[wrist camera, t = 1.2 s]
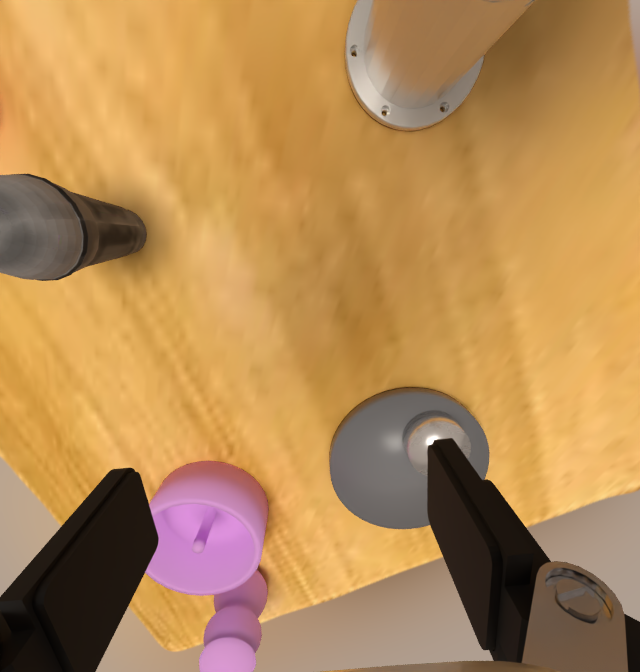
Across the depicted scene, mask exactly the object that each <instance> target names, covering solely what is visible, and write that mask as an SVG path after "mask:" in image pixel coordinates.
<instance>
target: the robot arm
mask: <svg viewBox="0 0 640 672" xmlns="http://www.w3.org/2000/svg"><path fill="white" fill-rule="evenodd" d="M534 1H535V0H358V1H357V2H356V4H355V6H354V9H353V12H352V15H351V18H350V21H349V24H348V29H347V35H346V44H345V64H346V71H347V75H348V80H349V83H350V86H351V88H352V91H353V93H354V95H355V97H356V99H357V100H358V102H359V103H360V105H361V106H362V108H363V109H364V110H365V111H366V112H367V113H368V114H369V115H370V116H371V117H372V118H374V119H375V120H376V121H378V122H379V123H381V124H383V125H385V126H388V127H390V128H393V129H398V130H404V131H410V130H420V129H423V128H427V127H430V126H432V125H434V124H436V123H438V122H440V121H442V120H443V119H445V118H446V117H447V116H448V115H450V114H451V113H452V112H453V111H454V110H455V109H456V108H457V107H458V106H460V105H461V104H462V102H463V101H464V100H465V98H466V97H467V96H468V94H469V93H470V92H471V90H472V88H473V86H474V84H475V82H476V81H477V79H478V76H479V73H480V70H481V68H482V65H483V61H484V56H485V53H486V52H487V51H488V50H489V49H490V48H491V47H492V46H493V45H494V44H495V43H496V41H497V40H498V39H499V38H500V37H501V36H502V35H503V34H504V33H505V32H506V31H507V30H508V29H509V28H510V27H511V26H512V25H513V23H514V22H515V21H516V20H517V19H518V18H519V17H520V16H521V15H522V14H523V13H524V12H525V11H526V10H527V9H528V8H529V7H530V5H531V4H532V3H533V2H534ZM352 53H355V54H356V57H353V56H352V55H351V54H352ZM440 108H442V109H443V112H441V111H440ZM383 111H384V112H386V116H383V115H382V112H383ZM427 513H428V519H429V523H430V525H431V528H432V530H433V533H434V535H435V538H436V540H437V542H438V545H439V547H440V550H441V552H442V555H443V557H444V559H445V562H446V564H447V567H448V569H449V572H450V574H451V576H452V578H453V581H454V584H455V586H456V588H457V591H458V593H459V596H460V598H461V601H462V603H463V605H464V608H465V610H466V613H467V615H468V618H469V620H470V622H471V625H472V627H473V630H474V632H475V635H476V637H477V639H478V642H479V644H480V646H481V647H482V649H483V650H489V651H490V653H491V655H492V657H493V660H494V661H459V662H443V663H426V664H410V665H395V666H383V667H371V668H360V669H359V668H358V669H347V670H334V671H323V672H640V622H639V621H637V620H635V619H633V618H631V617H629V616H627V615H626V614H624V612H623V609H622V605H621V604H620V602H619V600H618V599H617V597H616V595H615V594H614V593H613V591H612V590H610V588H609V587H608V586H607V585H606V584H605V583H604V582H603V581H601V580H600V579H599V578H597V577H596V576H595V575H594V574H592V573H590V572H588V571H587V570H585V569H583V568H581V567H579V566H576V565H573V564H570V563H567V562H558V561H554V562H551V561H550V560H549V558H548V557H547V556H546V554H545V553H544V551H543V550H542V549H541V547H540V546H539V545H538V543H537V542H536V541H535V539H534V538H533V537H532V535H531V534H530V533H529V531H528V530H527V528H526V527H525V526H524V524H523V523H522V522H521V520H520V519H519V518H518V516H517V515H516V514H515V512H514V511H513V509H512V508H511V507H510V505H509V504H508V503H507V501H506V500H505V499H504V497H503V496H502V495H501V493H500V492H499V491H498V489H497V488H496V487H495V485H494V484H493V483H492V482H491V481H490V480H488V479H487V480H482V479H481V478H480V476H479V475H478V473H477V472H476V470H475V469H474V468H473V466H472V465H471V463H470V462H469V461H468V459H467V458H466V456H465V455H464V453H463V452H462V451H461V449H460V448H459V446H458V445H457V443H456V442H455V441H454V440H453V439H452V438H447V439H436V440H434V441H433V445H428V468H427ZM158 541H159V538H158V533H157V530H156V527H155V523H154V520H153V517H152V513H151V510H150V507H149V503H148V500H147V497H146V493H145V490H144V487H143V483H142V480H141V477H140V474H139V473H138V472H135V470H134V469H133V468H123V469H113V470H111V471H110V472H109V473H108V474H107V475H106V476H105V477H104V478H103V480H102V481H101V482H100V483H99V484H98V485H97V486H96V488H95V489H94V490H93V491H92V492H91V493H90V494H89V496H88V497H87V498H86V499H85V500H84V501H83V503H82V504H81V505H80V506H79V507H78V508H77V509H76V511H75V512H74V513H73V514H72V515H71V516H70V517H69V519H68V520H67V521H66V522H65V523H64V524H63V525H62V527H61V528H60V529H59V530H58V531H57V532H56V534H55V535H54V536H53V537H52V538H51V539H50V540H49V542H48V543H47V544H46V545H45V546H44V547H43V549H42V550H41V551H40V552H39V553H38V554H37V555H36V557H35V558H34V559H33V560H32V561H31V562H30V563H29V565H28V566H27V567H26V568H25V569H24V570H23V571H22V573H21V574H20V575H19V576H18V577H17V578H16V580H15V581H14V582H13V583H12V584H11V585H10V586H9V588H8V589H7V590H6V591H5V592H4V593H3V594H2V596H1V597H0V672H95V671H96V669H97V667H98V665H99V663H100V661H101V659H102V657H103V655H104V653H105V651H106V649H107V647H108V645H109V643H110V641H111V639H112V637H113V635H114V633H115V631H116V629H117V627H118V625H119V623H120V621H121V619H122V617H123V615H124V613H125V611H126V609H127V607H128V605H129V603H130V601H131V599H132V597H133V595H134V593H135V591H136V589H137V587H138V585H139V583H140V581H141V579H142V577H143V575H144V573H145V571H146V569H147V567H148V565H149V563H150V561H151V559H152V557H153V555H154V553H155V551H156V549H157V546H158Z"/></svg>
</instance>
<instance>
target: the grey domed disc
mask: <svg viewBox="0 0 640 672" xmlns="http://www.w3.org/2000/svg"><path fill="white" fill-rule="evenodd" d="M432 410H436V411H442V412H445V413H447V414H449V415H451V416H452V417H453V418H454V419H455V420H456V421H457V423H458V424H459V425H460V427H461V428H462V429H463V431H464V432H465V433H466V434H467V436H468V438H469V440H470V443H471V452H470V456H469V458H468V461H469V462H470V463H471V465H472V466H473V468H474V469H475V470H476V472H477V473H478V475H479V476H480V478H481V479H482V480H484V479H485V476H486V473H487V470H488V465H489V447H488V442H487V439H486V436H485V434H484V431H483V429H482V428H481V426H480V425H479V423H478V422H477V420H476V419H475V418H474V417H473V416H472V415H471V414H470V412H469V411H468V410H467V409H466V408H465V407H464V406H463V405H462V404H460V403H459V402H458V401H456V400H455V399H453V398H451V397H450V396H448V395H446V394H443V393H441V392H438V391H434V390H430V389H425V388H400V389H394V390H390V391H386V392H383V393H380V394H378V395H375V396H373V397H371V398H369V399H367V400H366V401H364V402H363V403H361V404H360V405H358V406H357V407H356V408H355V409H353V410H352V411H351V412H350V413H349V414H348V415H347V416H346V417H345V419H344V420H343V421H342V423H341V424H340V426H339V427H338V429H337V431H336V433H335V435H334V437H333V440H332V443H331V448H330V461H329V462H330V474H331V481H332V484H333V487H334V490H335V492H336V494H337V496H338V498H339V499H340V500H341V502H342V503H343V504H344V505H345V507H346V508H347V509H348V510H349V511H351V512H352V513H353V514H354V515H356V516H357V517H359V518H361V519H362V520H364V521H366V522H369V523H371V524H374V525H377V526H380V527H385V528H392V529H412V528H419V527H424V526H428V525H430V523H429V519H428V513H427V476H426V475H423V474H421V473H420V472H418V471H417V470H416V469H415V468H414V467H413V465H412V464H411V462H410V459H409V457H408V455H407V452H406V450H405V448H404V445H403V441H402V435H403V431H404V428H405V426H406V425H407V423H408V422H409V421H410V420H411V419H412V418H413V417H415V416H416V415H418V414H420V413H423V412H426V411H432Z"/></svg>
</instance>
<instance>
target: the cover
mask: <svg viewBox="0 0 640 672" xmlns="http://www.w3.org/2000/svg"><path fill="white" fill-rule="evenodd" d="M447 438H452V439H453V440H454V441H455V442H456V443H457V445H458V446H459V448H460V449H461V451H462V452H463V453H464V455H465V456H466V458H467V459H468V458H469V456H470V452H471V443H470V440H469V438H468V436H467V434H466V433H465V432H464V431H463V429H462V428H461V427H460V425H459V424H458V423H457V421H456V420H455V419H454V418H453V417H452V416H451V415H449V414H447V413H445V412H442V411H436V410H432V411H426V412H423V413H420V414H418V415H416V416H415V417H413V418H412V419H411V420H410V421H409V422H408V423H407V425H406V426H405V428H404V431H403V435H402V441H403V445H404V448H405V450H406V452H407V455H408V457H409V459H410V462H411V464H412V465H413V467H414V468H415V469H416V470H417V471H418V472H420V473H421V474H423V475H426V476H427V468H428V445H433V441H434V440H436V439H447Z"/></svg>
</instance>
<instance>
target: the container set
mask: <svg viewBox="0 0 640 672" xmlns="http://www.w3.org/2000/svg"><path fill="white" fill-rule="evenodd" d="M149 507H150V510H151V513H152V517H153V520H154V523H155V527H156V530H157V533H158V538H159V541H158V546H157V549H156V551H155V553H154V555H153V557H152V559H151V561H150V563H149V565H148V567H147V569H146V571H145V573H146V574H147V575H148V576H149V577H151V578H152V579H153V580H154V581H156V582H157V583H159V584H161V585H163V586H164V587H166V588H169V589H171V590H174V591H177V592H180V593H185V594H189V595H214V607H215V611H216V614H215V615H214V616H213V617H212V618H211V619H210V621H209V622H208V624H207V626H206V629H205V633H204V646H205V648H204V650H203V652H202V653H201V655H200V658H199V668H200V672H253V670H254V668H255V666H256V659H255V653H256V651H257V649H258V647H259V645H260V641H261V636H262V635H261V625H260V623H259V620H258V617H259V616H260V615H261V613H262V611H263V609H264V607H265V604H266V601H267V594H268V591H267V584H266V582H265V580H264V578H263V576H262V575H261V574H260V572H259V571H258V570H257V568H258V565H259V563H260V560H261V555H262V549H263V542H264V536H265V530H266V524H267V518H268V510H269V508H268V500H267V497H266V495H265V492H264V490H263V489H262V487H261V486H260V484H259V483H258V482H257V481H256V480H255V479H254V478H253V477H252V476H251V475H250V474H248V473H247V472H245V471H244V470H242V469H240V468H238V467H236V466H234V465H230V464H227V463H223V462H216V461H199V462H194V463H190V464H187V465H184V466H182V467H180V468H178V469H176V470H175V471H173V472H172V473H171V474H169V475H168V477H167V478H166V479H165V480H164V481H163V482H162V484H161V486H160V487H159V489H158V491H157V492H156V494H155V496H154V497H153V499H152V500H151V502H150V504H149Z"/></svg>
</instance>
